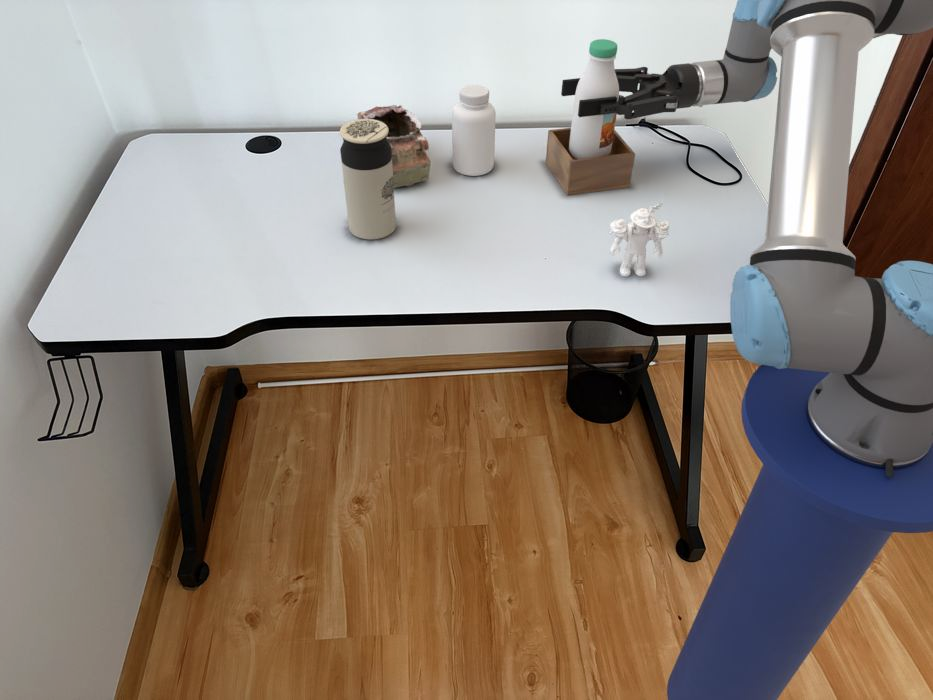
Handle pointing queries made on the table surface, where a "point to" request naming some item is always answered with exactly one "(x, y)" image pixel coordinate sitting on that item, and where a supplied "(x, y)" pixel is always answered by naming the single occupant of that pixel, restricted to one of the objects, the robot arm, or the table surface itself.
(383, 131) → the travel mug
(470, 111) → the pill bottle
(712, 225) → the table surface
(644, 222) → the flower shoulder figurine
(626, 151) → the wooden box
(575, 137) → the milk bottle
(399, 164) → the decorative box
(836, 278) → the robot arm
